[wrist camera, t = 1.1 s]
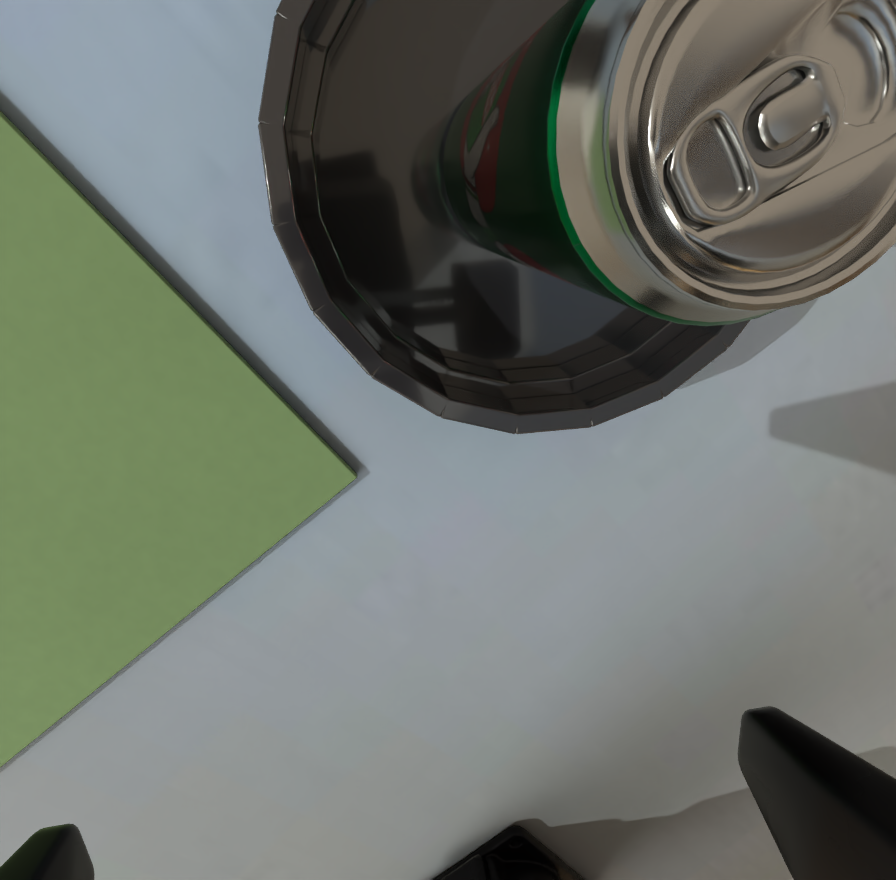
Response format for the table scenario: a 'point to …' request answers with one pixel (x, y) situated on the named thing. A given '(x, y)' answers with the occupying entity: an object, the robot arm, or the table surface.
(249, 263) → the table surface
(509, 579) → the table surface
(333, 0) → the pan
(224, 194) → the table surface
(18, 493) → the napkin
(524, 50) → the soda can
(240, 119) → the table surface
